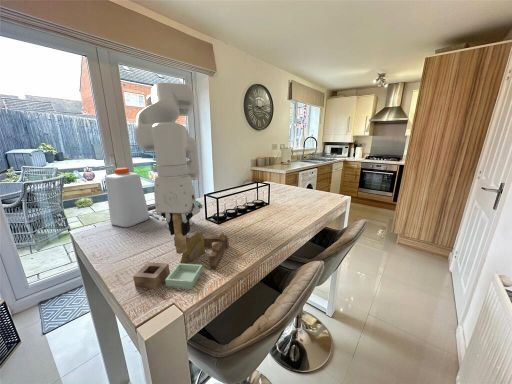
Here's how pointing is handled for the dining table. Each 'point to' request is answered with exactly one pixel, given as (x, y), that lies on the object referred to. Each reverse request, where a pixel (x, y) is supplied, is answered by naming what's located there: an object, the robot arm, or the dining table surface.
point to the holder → (151, 275)
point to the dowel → (179, 234)
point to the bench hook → (214, 247)
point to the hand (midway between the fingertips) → (180, 232)
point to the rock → (194, 248)
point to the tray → (184, 276)
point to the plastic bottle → (126, 198)
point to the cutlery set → (161, 215)
